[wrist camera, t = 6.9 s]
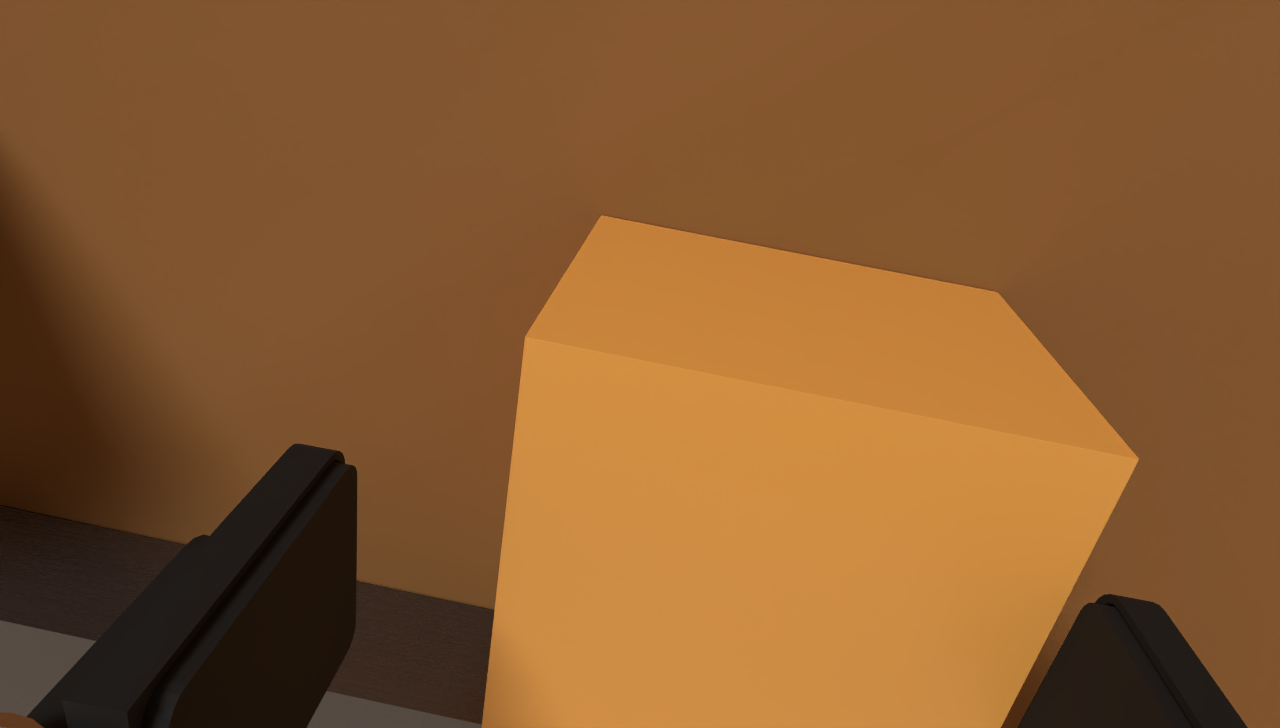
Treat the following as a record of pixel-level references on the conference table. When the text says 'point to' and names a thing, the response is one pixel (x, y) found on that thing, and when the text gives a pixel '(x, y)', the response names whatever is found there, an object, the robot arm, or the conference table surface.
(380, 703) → the panel
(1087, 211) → the conference table surface
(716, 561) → the cap
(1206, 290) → the conference table surface
